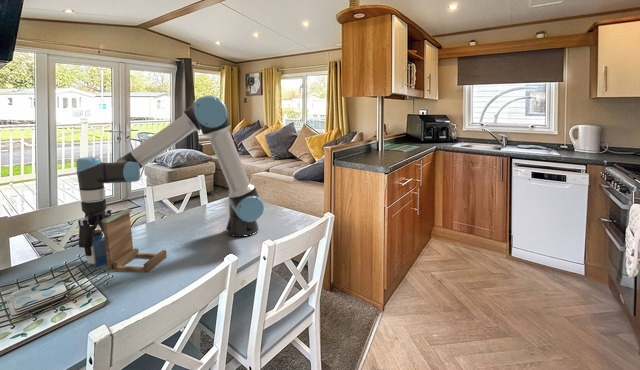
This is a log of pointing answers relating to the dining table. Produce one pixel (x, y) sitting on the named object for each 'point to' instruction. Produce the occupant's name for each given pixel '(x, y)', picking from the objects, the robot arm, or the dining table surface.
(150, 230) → the dining table surface
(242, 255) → the dining table surface
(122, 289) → the dining table surface
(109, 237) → the wooden l-shaped stand
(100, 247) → the perfume bottle
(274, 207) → the dining table surface
